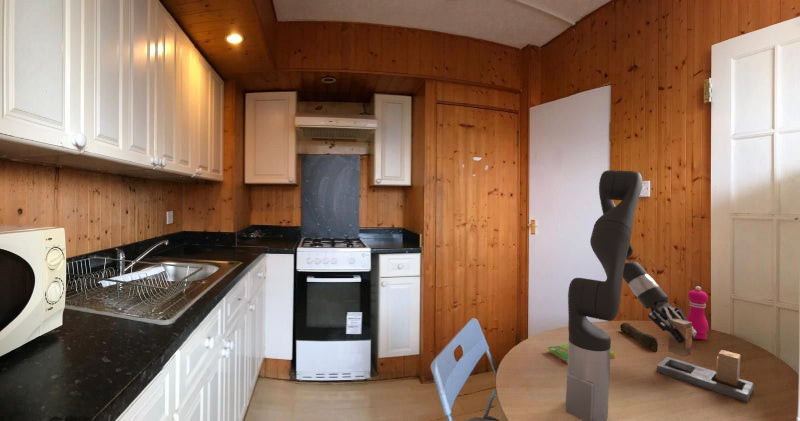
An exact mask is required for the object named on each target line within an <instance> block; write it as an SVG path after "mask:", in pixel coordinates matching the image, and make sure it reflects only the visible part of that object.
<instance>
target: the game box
mask: <svg viewBox="0 0 800 421" xmlns="http://www.w3.org/2000/svg"><path fill="white" fill-rule="evenodd" d="M545 349H546V350H548V352H549V353H550V354H551V355H554V356H555V357H557V358H559V359H560V360H561V359H562V361H563V362H565V363H566V364H568V344H560V345H554V346H548V347H546V348H545ZM615 355H616V353H615V351H612V350H611V349H610V360H611V359H615V357H616V356H615Z"/></svg>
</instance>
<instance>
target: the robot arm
mask: <svg viewBox="0 0 800 421" xmlns="http://www.w3.org/2000/svg"><path fill="white" fill-rule="evenodd" d="M598 182H599V183H598V194H599V200H600V205H601V206H600V208H601V211H602V215H601V216H600V217H599V218H597V220H596V221H595V223H594V224H593V228H592V231H591V236H590V239H589V240H590V241H589V243H590V246H591V247H590V248H591V249H592V252H593V253H594V254H595V257H596V258H597V259H598V261H599V262H600V264H601V266H602V268H603V270H604V273H605V275H606V279H605V281H603V280H597V279H592V278H583V277H574V278H573V279H572V280H570V283H569V286H568V291H567V292H568V293H567V310H568V314H567V316H568V323H567V324H568V330H567V331H568V340H567V341H568V344H567V345H568V363H567V370H566V371H567V372H566V374H567V375H566V391H565V393H566V394H565V412H567V413H568V414H571V415H573V416H574V417H577V418H579V419H581V420H583V421H607V420H608V418H609V397H610V396H609V393H610V392H609V390H610V368H611V365H610V364H611V359H610V350H611V346H612V340H611V337H610V335H609V334H608V333H607V332H606V331H605V330H603V329H602V328H599V327H598V326H596V325H594V324H593V323H592V322H591V320H589V319H588V318H591V319H597V320H601V321H608V322H610V321H614V320H615V319H616V317H617V316H618V314H619V310H620V304H621V303H620V302H621V296H622V288H623V287H622V286H623V280H624V281H625V282H626V284H627V285H628V286H629V288H630V290H631V291H632V293H633V294H634V295H635V296H636V298H637V300H638V301H640V303H641V304H642V306H643V307H644V308H645V309H647V310H650V311H651V312H650V313H648V314H647V316H648V318H649V319H650V320H651V321H652V322H653V323H654V324H655V325H656V326H657V327H658V328H659V329H660V330H662V331H663V332H665V331H667V332H668V333H669V332H670V333H671V334H672V335H673V337H674V338H675V339H676V340H677V342H678V343H683V342H685V341H686V339H685V338H684V337H683V335H682V334H681V333H680V332H679V330H678V329H676V326H675V325H674V324H673V322H672V321H673V319H676V318H677V319H682V320H685V321H687V319H686V318H687V317H686V315H685V314H684V312H683V310H682V308H680V307H679V306H676V307H673V305H671V304H670V303H669V302H668V300H670V297H669V296H668V295H667V294H666V293H665V291H664V290H663V289H662V288H661V286H660V285H659V283H657V282H656V280H655V279H654V278H652V277H651V276H650V275H649V274H648V272H647V271H646V270H645V269H644V268H643V266H642V265H641V264H640V263H638V262H637V261H628V262H626V260H627V259H628V258H630V257H631V256H632V255H633V253H634V248H633V246H632V244H631V238H632V232H633V226H634V218H635V213H636V209H637V206H638V204H639V199H640V197H641V193H642V188H643V177H642V175H641V173H640V172H638V171H633V170H616V169H615V170H612V169H609V170H604V171H603V172H602V173H601V175H600V178H599V181H598ZM614 201H620V202H619V203H618V204H617V205H616V204H615V202H614ZM693 340H696V339H695V337H694V336H693V334H692V341H693Z"/></svg>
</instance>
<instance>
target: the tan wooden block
mask: <svg viewBox="0 0 800 421" xmlns="http://www.w3.org/2000/svg"><path fill="white" fill-rule="evenodd" d="M672 322H673V324H674V325H675V326H676V329H678V330H679V332H680V333H681V334H682V335H683V337H684V338H685V339H686V341H685V342H683V343H678V342H677V340H676V339H675V338H674V337H673V335H672V334H671V333H670V332H668V347H667V351H668V352H669V353H672V354H674V355H677V356H680V357H683V358H684V357H687V356H691V352H692V345H693V343H692V342H693V340H692V322H689V321H685V320H683V319H677V318H676V319H675V318H674V319H673V321H672Z"/></svg>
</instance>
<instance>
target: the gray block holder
mask: <svg viewBox="0 0 800 421" xmlns="http://www.w3.org/2000/svg"><path fill="white" fill-rule="evenodd" d="M715 367H716V368H715V370H712V369H710V368H706V367H702V366H699V365H696V364H693V363H689V362H686V361H683V360H680V359H677V358H674V357H673V358H672V357H669V356H666V357H665V358H663V360H661V361H660V362H659V363H658V364H657V365H656V372H657V373H660V374H663V375H665V374H666V376H668V375H669V377H673V378H675V379H678V380H681V381H683V382H687V383H689V384H692V385H695V386H698V387H701V388H704V389H707V390H710V391H712V392H716V393H719V394H723V395H725V396H728V397H731V398H733V399H737V400H739V401H743V402H745V403H747V402H748V401H749V399H750V396H751V394H752V392H753V390H754V382H751V381H748V380H745V379H741V378H740V372H741V353H740V354H739V353H736V352H731V351H728V350H724V349H721V350H720V351H719V352H718V355H717V357H716V366H715ZM676 368H677V369H676ZM688 371H689V372H688Z"/></svg>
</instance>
